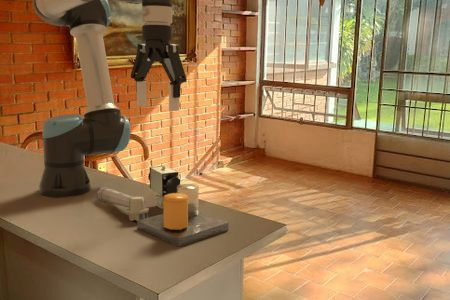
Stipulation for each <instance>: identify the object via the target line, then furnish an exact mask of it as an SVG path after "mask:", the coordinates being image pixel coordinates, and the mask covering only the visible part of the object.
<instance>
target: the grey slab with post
mask: <svg viewBox="0 0 450 300" xmlns="http://www.w3.org/2000/svg"><path fill="white" fill-rule="evenodd" d="M199 188H200V187H199V185H197V184H194V183H193V184H192V183H180V185H178V186H177V193H181V194H185V195H187V196H188V226H187V227H186V228H183V229H180V230H177V229H168V228H165V227H164V213H161V214H158V215H152V216H148V218H145V219H141V220H138V221H137V220H136V223H137V229H139V230H141V231H143V232H146V233H147V234H150V235H152V236H154V237H156V238H159V239H161V240H163V241H165V242H168V243H170V244H173V245H175V246H177V247H182V246H186V245H188V244H192V243H194V242H197V241H200V240H202V239H206V238H209V237H212V236H215V235H218V234H221V233H224V232H226V231H229V221H226V220H223V219H221V218H217V217H214V216H211V215H209V214H205V213H203V212H200V211H199V193H200V192H199V190H200V189H199Z"/></svg>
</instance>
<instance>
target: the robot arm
mask: <svg viewBox="0 0 450 300" xmlns="http://www.w3.org/2000/svg"><path fill="white" fill-rule="evenodd" d="M108 1H109V0H32V8H33V10H34V12H35V14H36V15H37V16H38V17H39V18H40V20H42V21H44V22H45V23H47V24H49V25H51V26H52V25H53V26H58V27H68V28H69V33H70V36H73V37H74V38H75V41H76V46H77V52H78V58H79V65H80V70H81V77H82V83H83V88H84V96H85V101H86V107H87V109H86V110H85V112H84V113H83V116H82V114H79V113H71V114H61V115H55V116H52V117H48V118H47V119H46V120H44V122H43V124H42V134H41V136H42V140H43V141H42V144H43V146H42V147H43V162H44V165H43V167H44V168H43V172H42V174H41V178H40V182H39V188H38V189H39V194H40V195H42V196H45V197H51V198H67V197H76V196H77V197H78V196H81V195H84V194H87V193H89V192H90V191H91V181H90V178H89V175H88V173H87V170H86V167H85V159H84V158H85V156H93V155H102V154H113V153H119V152H123V151H125V150H126V148H128V146H129V143H130V139H131V132H132V131H131V123H130V121H129V118H128V117H127V116H125V115H122V113H121V108H119V107H118V106H117V105H115V101H114V94H113V88H112V82H111V77H110V76H111V75H110V70H109V64H108V60H107V59H108V57H107V53H106V48H105V41H104V34H105V33H107V28H108V27H109V26H110V24H111V19H112V18H111V16H112V15H111V8H110V4H109V2H108ZM111 1H113V2H114V1H115V2H125V3H127V4H133V5H138V4H141V6H142V11H141V12H142V15H141V16H142V19H141V20H142V23H144V24H143V25H142V27H141V29H142V30H141V32H142V33H141V34H142V37H141V38H142V40H144V41H145V43H138V44H137V47H136V48H137V50H136V55H135V58H134V62H133V65H132V69H131V72H130V79H133V80H134V81H135V92H136V106H137V107H145V106H148V104H147V101H148V100H147V96H148V95H147V86H148V84H147V79H146V78H147V76H148V74H149V72H150V69H151V68H152V66H153V64H155V63H159V64H160V65H161V66H162V68H163V69H164V72H165V73H166V75H167V77H168V79H169V85H168V111H169V112H177V111H180V98H181V85H182V84H184V83H187V81H188V79H187V76H186V73H185V69H184V66H183V63H182V59H181V56H180V53H179V44H175V43H170V41H172V40H173V27H172V26H171V24H172V23H173V0H111Z"/></svg>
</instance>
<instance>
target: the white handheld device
mask: <svg viewBox="0 0 450 300" xmlns="http://www.w3.org/2000/svg"><path fill="white" fill-rule="evenodd" d="M95 192H96V193H95V195H96V198H97V199H98V200H99V201H102V202H103V203H105V204H106V203H109V204H112V205H117V206H120V207H125V208H128V209H127V210H126V211H127V214H128V216H129V217H128V218H129V219H128V220H129V221H131V222H133V221H136V222H137V221H138V220H141V219H145V218H149V215H148V214H149V212H150V209H149V207H147V206H146V201H145V198H144V197H143V196H132V195H129V194H126V193H123V192H121V191H117V190H115V189H112V187H109V186H108V187H104V186H103V187H99V188H98V189H97V190H96V191H95Z"/></svg>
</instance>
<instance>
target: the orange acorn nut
mask: <svg viewBox="0 0 450 300" xmlns="http://www.w3.org/2000/svg"><path fill="white" fill-rule="evenodd" d="M163 214H164V227H165V228H168V229H177V230H180V229H183V228H186V227H187V226H188V196H187V195H185V194H181V193H171V194H167V195H165V196H164V208H163Z"/></svg>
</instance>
